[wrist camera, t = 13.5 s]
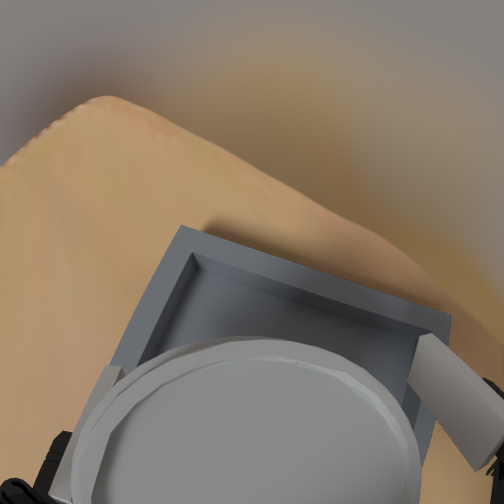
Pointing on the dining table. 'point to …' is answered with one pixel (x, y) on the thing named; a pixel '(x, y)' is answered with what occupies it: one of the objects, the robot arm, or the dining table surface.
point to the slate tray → (279, 314)
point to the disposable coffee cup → (247, 431)
